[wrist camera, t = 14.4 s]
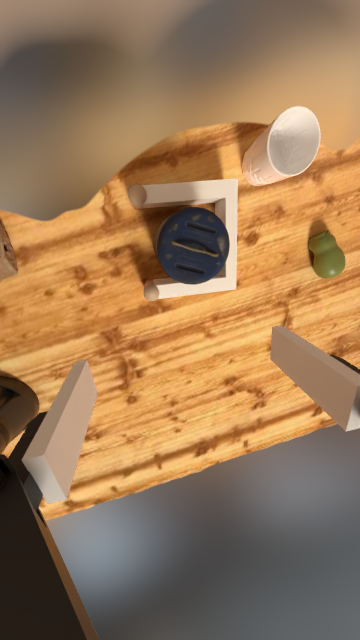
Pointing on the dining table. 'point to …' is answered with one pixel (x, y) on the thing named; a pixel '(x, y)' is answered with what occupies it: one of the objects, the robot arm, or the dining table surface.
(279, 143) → the white cup
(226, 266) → the bracket
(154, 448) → the dining table surface
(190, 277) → the canister
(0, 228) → the stone cup
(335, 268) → the pear
